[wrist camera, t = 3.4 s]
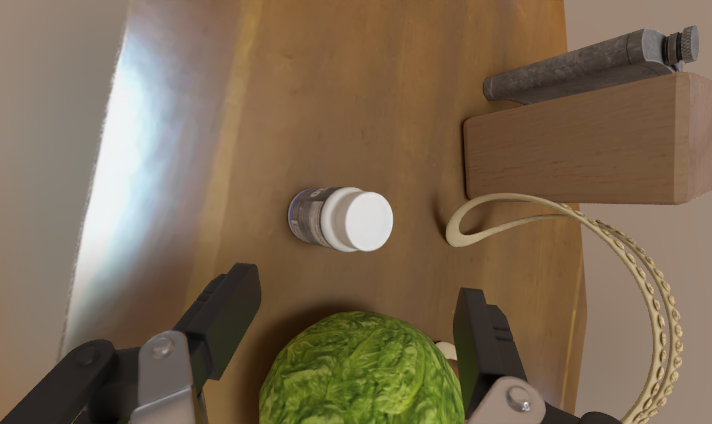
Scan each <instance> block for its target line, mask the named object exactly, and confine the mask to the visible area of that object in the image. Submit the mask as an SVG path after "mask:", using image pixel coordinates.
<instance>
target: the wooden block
mask: <svg viewBox="0 0 712 424" xmlns="http://www.w3.org/2000/svg"><path fill="white" fill-rule="evenodd" d="M463 132H464V150H465V168H466V187H467V195H468V198H470V199H474V198H477V197H480V196H484V195H488V194H496V193H516V194H524V195H530V196H534V197H538V198H542V199H546V200H548V201H551V202H554V203H604V204H605V203H606V204H655V205H657V204H659V205H679V204H682V203H686V202H689V201H691V200H693V199H695V198H697V197H699V196H701V195H703V194H704V193H706V192H708V191H710V190H712V80H710V79H708V78H705V77H702V76H700V75H697V74H694V73H688V72H676V73H671V74H667V75H662V76H658V77H653V78H649V79H644V80H639V81H635V82H630V83H626V84H621V85H616V86H612V87H607V88H603V89H598V90H593V91H589V92H584V93H580V94H575V95H570V96H566V97H561V98H557V99H552V100H547V101H543V102H538V103H534V104H529V105H524V106H520V107H515V108H511V109H506V110H501V111H497V112H492V113H488V114H483V115H479V116H474V117H471V118H469V119H468V120H466V121H465V122H464V126H463ZM489 201H501V202H531V201H525V200H519V199H495V200H489Z"/></svg>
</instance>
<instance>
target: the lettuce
mask: <svg viewBox="0 0 712 424" xmlns="http://www.w3.org/2000/svg"><path fill="white" fill-rule="evenodd" d="M259 424H464V411H463V404H462V397H461V390H460V383H459V381H458V379H457V377H456V376H455V374H454V372H453V370H452V368H451V367H450V365H449V363H448V361H447V359H446V358H445V356H444V354H443V353H442V352H441V351H440V349H439V348H438V347H437V346H436V345H435V344H434V342H433V341H432V340H431V339H430V338H429V337H428V336H427V335H426V334H424V333H423V332H421V331H420V330H418V329H417V328H415V327H413V326H412V325H410V324H409V323H407V322H405V321H402V320H399V319H396V318H393V317H389V316H385V315H382V314H378V313H374V312H360V311H352V312H341V313H336V314H333V315H331V316H328V317H326V318H324V319H322V320H320V321H318V322H317V323H315V324H313V325H312V326H310V327H308V328H307V329H305V330H304V331H303V332H301V333H300V334H298V335H297V336H296V337H294V338H293V339H292V340H291V341H290V342H289V343H288V344H287V345H286V346H285V347H284V348H283V350H282V351H281V352H280V353H279V354H278V355H277V357H276V359H275V361H274V363H273V365H272V367H271V369H270V371H269V373H268V375H267V377H266V379H265V381H264V383H263V386H262V388H261V390H260V392H259Z"/></svg>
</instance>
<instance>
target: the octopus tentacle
mask: <svg viewBox="0 0 712 424" xmlns="http://www.w3.org/2000/svg"><path fill="white" fill-rule="evenodd" d="M495 199H519V200H525V201H531V202H535V203H539V204H542V205H546V206H548V207H551V208H553V209H556V210H558V211H560V212H563V213H564V214H566V215H563V214H550V215H539V216H532V217H527V218H523V219H518V220H515V221H511V222H508V223H505V224H502V225H499V226H496V227H493V228H491V229H488V230H485V231H483V232H480V233H477V234H473V235H463V234H461V233H460V231H459V223H460V220H461V219H462V217H463V216H464V214H465V213H466V212H467V211H468V210H469V209H471V208H472V207H474V206H475V205H478V204H480V203H483V202H486V201H489V200H495ZM545 219H568V220H575V221H579V222H580V223H582V224H584V225H585V226H586V227H588V228H589V229H591V230H592V231H593V232H595V233H596V234H597V235H598V236H599V237H600V238H601V239H603V240H604V241H605V242H606V243H607V244H608V245H609V246H610V247H611V248H612V249H613V250H614V252H615V253H616V254H617V255H618V256H619V257H620V258H621V260H622V261H623V262H624V263H625V265H626V266H627V267H628V269H629V271H630V272H631V274H632V275H633V277H634V279H635V280H636V282H637V284H638V286H639V288H640V290H641V292H642V294H643V297H644V300H645V302H646V305H647V308H648V312H649V316H650V320H651V326H652V332H653V355H652V364H651V367H650V371H649V375H648V378H647V382H646V384H645V386H644V389H643V391H642V393H641V394H640V396H639V398H638V400H637V401H636V403H635V405H634V406H633V407H632V408H631V409H630V410H629V412H628V413H627V414H626V415H625V416H624V417H623V419H621V420H620V422H621V423H623V424H644V423H646V422H647V421H649V417H648V416H654V415H655V414H657V412H658V408H657V407H658V406H663V405H664V404H665V403H666V401H667V399H666V397H665V396H666V395H668V394H671V392H672V391H673V385H672V382H674V381H676V380H677V378H678V376H679V375H678V372H677V371H676V369H677V368H678V367H680V366H681V363H682V360H681V358H680V356H679V353H680V352H682V350H683V344H682V342H681V341H680V340H679V338H680V337H681V336H682V328H681V327H680V326H679V325H678V322H679V320H680V315H679V312H678V311H676V310H675V308H674V307H675V305H676V300H675V299H674V297H673V296H671V295H670V294H669V291H670V286H669V285H668V284H667V283H666V282H665V281H663V280H662V279H663V274H662V272H661V271H660V270H659V269H657V268H655V267H654V266H655V262H654V261H653V260H652V259H651V258H650V257H647V256H646V252H645V251H644V250H643V249H642V248H641V247H637V246H636V245H637V244H636V242H635V241H633V240H632V239H630V238H626V235H625V234H624V233H622V232H621V231H616V228H614V227H612V226H611V225H605V223H604V222H602V221H600V220H596V221H594V220H592V219H587V218H585V215H584V214H582V213H581V212H579V211H572V210H571V208H570V207H569V206H567V205H565V204H556V203H554V202H551V201H548V200H546V199H542V198H538V197H534V196H530V195H524V194H516V193H496V194H488V195H484V196H480V197H477V198H474V199H472V200H470V201H468V202H466V203H465V204H463V205H462V206H461V207H459V208H458V209H457V210H456V211H455V212H454V214H453V215H452V216H451V218H450V220H449V222H448V224H447V227H446V239H447V241H448V243H449V244H450V245H452V246H454V247H462V246H467V245H470V244H472V243H475V242H477V241H479V240H481V239H483V238H486V237H488V236H490V235H492V234H495V233H497V232H500V231H502V230H505V229H507V228H510V227H513V226H516V225H519V224H523V223H527V222H532V221H537V220H545ZM600 228H601V229H600ZM612 235H614V236H615V237H617V238H618V239H620V240H621V241H622V242H623V243H624V244H625V245H627V246H628V247H629V248H630V249H631V250H632V251H633V252H634V253H635V254H636V255H637V256H638V257H639V258H640V260H641V261H642V262H643V264H644V265H645V266H646V268H647V269H648V270H649V272H650V274H651V275H652V277H653V278H654V280H655V282H656V284H657V286H658V288H659V291H660V293H661V296H662V299H663V301H664V305H665V308H666V312H667V316H668V321H669V329H670V352H669V359H668V365H667V370H666V373H665V376H664V379H663V381H662V383H661V385H660V387H659V384H658V380H660V379H661V378H662V377H663V373H664V369H663V367H662V363H664V362H665V361H666V352H665V350H664V349H663V346H664V345H666V335H665V334H664V333H663V331H662V329H663V327H664V326H665V324H664V319H663V317H662V316H661V315H659V310H660V305H659V302H658V301H657V299H655V298H654V297H653V293H654V290H653V288H652V286H651V284H650V283H648V282H646V280H645V276H646V275H645V273H644V272H643V270H642V269H641V268H640V267H637V266H636V264H635V262H636V261H635V259H634V258H633V256H632V255H631V254H630V253H626V252H625V251H624V246H623V245H622V244H621V243H620V242H619V241H617V240H613V239H612ZM435 345H436V346H437V347H438V348H439V349H440V351H441V352H442V353H443V354H444V356H445V358H446V359H449V358H451V359H454V360H456V361H457V356H456V349H455V346H454V345H452V344H450V343H448V342H439V343H436V344H435ZM658 389H659V390H658ZM652 395H655V396H654V398H653V399H651V396H652ZM464 424H465V423H464Z"/></svg>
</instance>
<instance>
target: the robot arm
mask: <svg viewBox="0 0 712 424" xmlns="http://www.w3.org/2000/svg"><path fill="white" fill-rule="evenodd" d="M260 303H261V287H260V281H259V274H258V268H257V266H256V265H255V264H247V263H236V264H235V265H234V266H233V267H232V268H231V270H230V271H229V272H228V274H221V275H219V276H218V277H217V278H215V279H214V280H212V281H211V282H210V283H209V284H208V285H207V287H206V288H205V289H204V290H203V293H201V294H200V295H199V297H198V298H197V300H196V301H195V302H194V303H193V304H192V305H191V307H190V308H189V309H188V310H187V311H186V313H185V314H184V315H183V316H182V318H181V319H180V320H179V321H178V323H177V324H176V325H175V326H174V328H173V329H172V330H171V331H166V332H162V333H160V334H157V335H155V336H154V337H152V338H150V339H149V340H148V341H147V342H146V343H145V344H144V345H143V346H142V347H136V348H129V349H122V350H115V348H114V346H113V344H112V343H111V342H110V341H108V340H93V341H90V342H87V343H84V344H82V345H80V346H78V347H77V348H75V349H73V350H72V351H71V352H69V353H68V354H67V355H66V356H65V357H64V358H63V359H62V360H61V361H60V362H59V363H58V364H57V365H56V366H55V367H54V368H53V369H52V370H51V371H50V372H49V373H48V374H47V375H46V376H45V377H44V378H43V379H42V380H41V381H40V382H39V383H38V384H37V385H36V386H35V387H34V388H33V389H32V390H31V391H30V392H29V393H28V394H27V396H25V398H23V400H22V401H21V402H19V403H18V405H17V406H16V407H15V408H14V409H13V410H12V411H11V412H10V413H9V414H8V415H7V416H6V417H5V418H4V419H3V420H2V421H1V422H0V424H71V423H72V421H73V420H74V419H75V418H76V416H77V415H78V414H79V413H80V411H81V410H82V409H83V411H82V413H81V414H80V415H79V416H78V418H77V419H76V420H75V421H74V423H73V424H127V423H128V422H129V420H130V424H209V423H208V417H207V410H206V404H205V398H204V392H203V388H202V387H203V386H204V384H205V382H206V380H207V379H212V380H218V381H219V380H220V378H221V376H222V374H223V372H224V371H225V369H226V367H227V365H228V363H229V362H230V360H231V358H232V356H233V354H234V352H235V351H236V349H237V347H238V345H239V343H240V342H241V340H242V338H243V336H244V334H245V332H246V331H247V329H248V327H249V325H250V323H251V322H252V320H253V318H254V316H255V314H256V312H257V311H258V309H259V306H260ZM453 335H454V342H455V349H456V356H457V363H458V371H459V378H460V385H461V392H462V399H463V406H464V413H465V419H466V420H468V421H467V422H466V424H623V423H621V422H620V421H618V420H617V419H615V418H613V417H612V416H610V415H607V414H604V413H601V412H588V413H586V414H584V415H583V416H582V417H581V418H578V417H576V416H573V415H571V414H569V413H566V412H564V411H562V410H559V409H557V408H555V407H553V406H551V405H549V404H548V403H546V402H545V401H544V400H543V398H542V396H541V395H540V394H539V392H538V391H537V390H536V389H535V388H534V387H533V386H532V385H530V384H529V383H528V381H527V378H526V375H525V372H524V369H523V366H522V363H521V360H520V357H519V354H518V351H517V348H516V345H515V342H513V336H512V333H511V331H510V327H509V324H508V321H507V319H506V316H505V315H504V314H503V313H502V311H501V310H500V309H499V308H498V307H497V306H496V305H488V304H486V301H485V297H484V293H483V291H482V290H480V289H471V288H460V291H459V296H458V300H457V305H456V309H455V314H454V320H453Z"/></svg>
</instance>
